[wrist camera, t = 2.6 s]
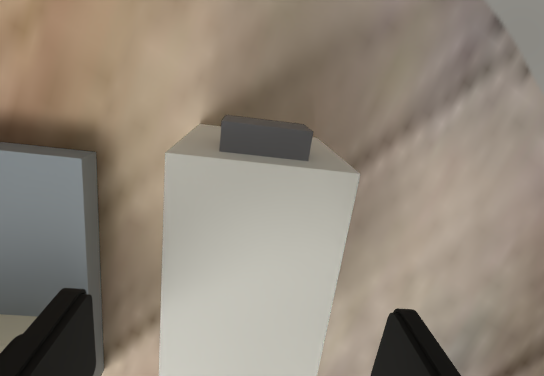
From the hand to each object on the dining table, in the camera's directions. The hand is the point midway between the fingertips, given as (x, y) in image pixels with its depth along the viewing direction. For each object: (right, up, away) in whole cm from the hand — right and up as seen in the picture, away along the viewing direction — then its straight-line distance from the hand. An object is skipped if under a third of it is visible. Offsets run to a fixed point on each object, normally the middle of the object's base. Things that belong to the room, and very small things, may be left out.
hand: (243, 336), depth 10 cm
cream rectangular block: (0, +2, +8) cm, 8 cm away
